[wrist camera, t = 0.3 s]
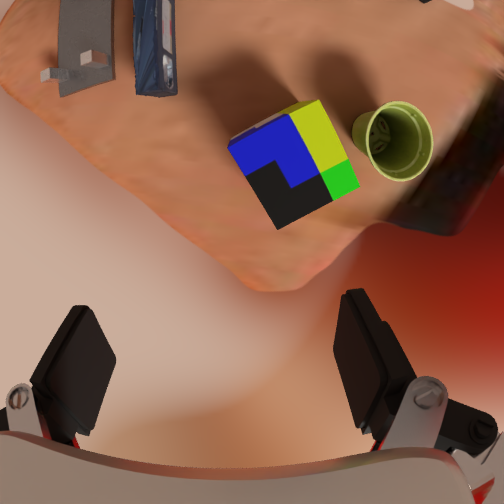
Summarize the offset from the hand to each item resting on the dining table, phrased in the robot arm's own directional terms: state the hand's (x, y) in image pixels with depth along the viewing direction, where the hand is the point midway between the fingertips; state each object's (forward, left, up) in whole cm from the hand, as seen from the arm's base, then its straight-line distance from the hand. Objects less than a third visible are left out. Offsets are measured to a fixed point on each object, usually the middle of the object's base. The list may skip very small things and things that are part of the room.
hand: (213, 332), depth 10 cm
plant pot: (-4, +19, -30) cm, 36 cm away
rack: (-25, -19, -30) cm, 44 cm away
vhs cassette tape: (-19, -7, -30) cm, 37 cm away
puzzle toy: (-1, +7, -30) cm, 31 cm away
